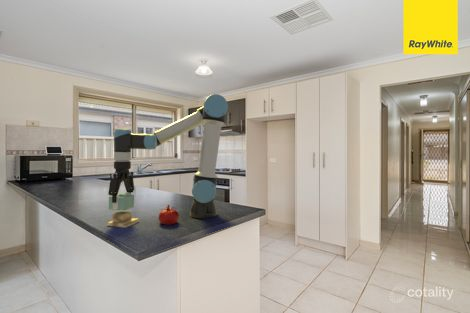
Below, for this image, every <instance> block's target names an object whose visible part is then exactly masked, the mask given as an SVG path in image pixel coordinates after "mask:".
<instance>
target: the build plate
mask: <svg viewBox="0 0 470 313" xmlns="http://www.w3.org/2000/svg"><path fill="white" fill-rule="evenodd" d="M132 212H133V211H128V210H124V211H121V210H118V211H116V212H112V220H111V221H108V222H107V226H108V227H119V228H128V227H130V226H133V225H134V224H137V223H139V221H140V218H135V217H132Z"/></svg>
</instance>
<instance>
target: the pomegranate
mask: <svg viewBox="0 0 470 313" xmlns="http://www.w3.org/2000/svg"><path fill="white" fill-rule="evenodd" d="M179 217H180V214H179V213H178V211H177V208H175V207H170V204H167V206H165V208H164V209H162V210H161V211H160V212H159V214H158V220H159V221H158V222H159V223H160V224H162V225H165V226H169V225H174V224H176V223H177V222H178V221H179Z"/></svg>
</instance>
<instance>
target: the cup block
mask: <svg viewBox="0 0 470 313" xmlns="http://www.w3.org/2000/svg"><path fill="white" fill-rule="evenodd" d="M117 196H119V209H118V210H117V211H128V210H129V209H133V208H134V207H135V194H132V193H131V194H125V193H118V194H117ZM108 210H110V211H111V210H112V211H115V210H114V209H113V203H112V196H110V195H108Z"/></svg>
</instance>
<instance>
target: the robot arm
mask: <svg viewBox="0 0 470 313" xmlns="http://www.w3.org/2000/svg"><path fill="white" fill-rule="evenodd" d="M228 109H229V105H228V100H227V99H226V98H225V97H224V96H223V95H220V94H218V93H217V94H216V93H213V94H210V95H209V96H207V97H206V98H205V99H204V102H203V105H202V106H201V107H200V108H197V109H196V112H193V113H192V114H190V115H187V116H185V117H183V118H181V119H179V120H177V121H174V122H173V123H171V124H168V125H167V126H164V127H162V128H160V129H158V130H156V131H154V132H152V133H132V130H131V129H129V128H116V129H114V134H113V160H114V162H113V169H114V170H115V171H114V173H110V174H109V177H110V180H109V187H108V196H112V203H113V209H114V210H113V211H119V210H118V209H119V196H117V194H119V191H120V187H121V184H122V182H123V184H124V187H125V191H126V192H125V193H124V194H131V195H132V193H134V191H135V185H134V184H135V183H134V171H130V170H131V168H132V163H131V160H132V150H149V151H150V150H156V149H157V148H158V146H161V145H162V144H165V143H166V142H167V143H168V142H169V141H171V140H173V139H176V138H178V137H180V136H182V135H183V134H186V133H188V132H190V131H192V130H194V129H196V128H198V127H201V126H202V125H203V134H202V141H201V147H200V153H199V160H198V161H199V164H198V170H197V172H195V173H194V175H193V177H192V178H193V179H192V181H193V184H192V189H191V194H192V196H193V201H192V205H191V207H190V211H189V216H190V217H192V218H195V219H211V218H215V217H217V216H218V210H217V208H216V203H215V197H216V195H217V185H218V184H217V182H218V175H216V168H217V161H218V153H219V146H220V139H221V131H222V127H223V126H224V125H225V124H226V117H227V116H226V115H227V112H228Z"/></svg>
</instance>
